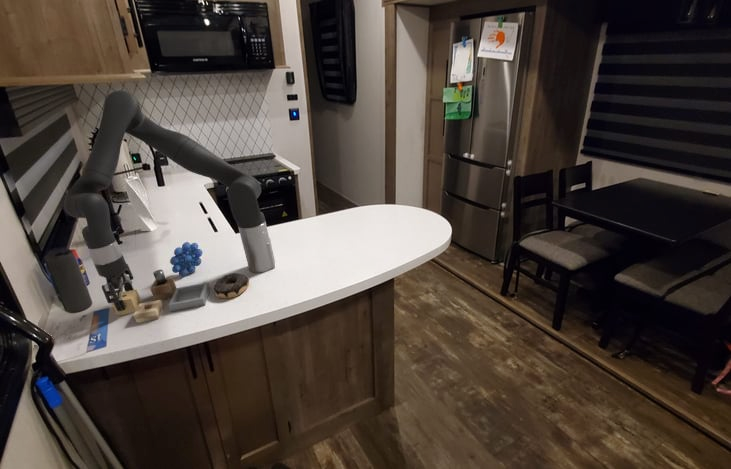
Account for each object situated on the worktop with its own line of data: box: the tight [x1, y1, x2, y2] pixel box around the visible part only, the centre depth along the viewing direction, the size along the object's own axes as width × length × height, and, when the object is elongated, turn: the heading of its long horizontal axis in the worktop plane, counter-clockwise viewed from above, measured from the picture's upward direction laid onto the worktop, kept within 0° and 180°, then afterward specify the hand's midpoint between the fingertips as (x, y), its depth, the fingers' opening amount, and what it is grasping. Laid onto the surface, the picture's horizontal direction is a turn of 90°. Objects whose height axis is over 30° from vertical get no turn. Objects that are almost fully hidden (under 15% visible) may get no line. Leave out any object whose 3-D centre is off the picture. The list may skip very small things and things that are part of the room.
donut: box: [213, 272, 250, 299], centre depth 122 cm, size 11×12×4 cm
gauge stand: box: [133, 300, 164, 324], centre depth 113 cm, size 6×6×3 cm
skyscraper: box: [123, 172, 159, 232], centre depth 175 cm, size 8×8×28 cm
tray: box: [168, 282, 211, 313], centre depth 119 cm, size 10×10×2 cm
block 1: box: [111, 289, 143, 316], centre depth 117 cm, size 6×6×5 cm
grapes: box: [169, 241, 203, 277], centre depth 134 cm, size 12×7×12 cm, turn 136°
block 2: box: [149, 276, 177, 302], centre depth 122 cm, size 6×6×5 cm
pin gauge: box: [152, 269, 167, 285], centre depth 122 cm, size 3×3×9 cm
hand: (126, 302), depth 117 cm, fingers open, 8 cm apart
